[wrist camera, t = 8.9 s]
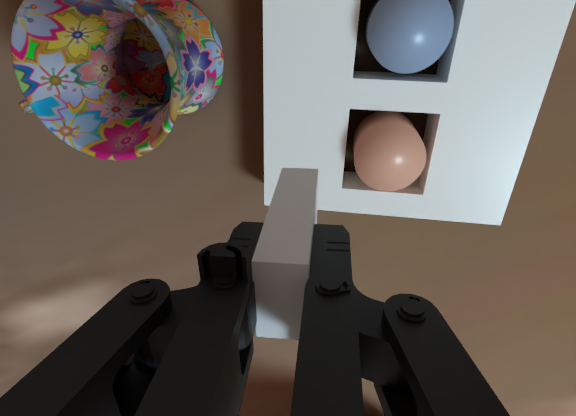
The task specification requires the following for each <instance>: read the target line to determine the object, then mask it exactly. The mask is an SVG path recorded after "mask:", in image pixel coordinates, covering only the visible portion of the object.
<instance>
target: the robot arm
mask: <svg viewBox="0 0 576 416" xmlns="http://www.w3.org/2000/svg"><path fill="white" fill-rule="evenodd" d="M317 198H318V169H309V168H282V170H281V173H280V176H279V179H278V182H277V185H276V188H275V191H274V194H273V197H272V200H271V203H270V206H269V209H268V212H267V215H266V219H265V222H264V223H259V222H242V223H241V224H239V225H238V226H237V227H236V228H234V229H233V232H232V234H231V236H230V239H229V240H228V242H227V243H217V244H213V245H209V246H207V247H206V248H204V249H202V250H201V251H200V252H199V253H198V254H197V259H198V265H199V272H200V279H201V280H200V282H199V284H198V285H197V286H195V287H191V288H187V289H181V290H175V291H170V288H169V286H168V285H167V283H166V282H164V281H162V280H159V279H145V280H140V281H137V282H134V283H132V284H130V285H128V286H127V287H125V288H124V289H123V290H121V291H120V292H119V293H118V294H117V295H116V296H115V297H114V298H112V299H111V300H110V301H109V302H108V303H107V304H106V305H105V306H103V307H102V308H101V309H100V310H99V311H98V312H97V313H96V314H94V315H93V316H92V317H91V318H90V319H89V320H88V321H87V322H85V323H84V324H83V325H82V326H81V327H80V328H79V329H77V330H76V331H75V332H74V333H73V334H72V335H71V336H70V337H68V338H67V339H66V340H65V341H64V342H63V343H62V344H61V345H59V346H58V347H57V348H56V349H55V350H54V351H53V352H52V353H50V354H49V355H48V356H47V357H46V358H45V359H44V360H43V361H41V362H40V363H39V364H38V365H37V366H36V367H35V368H34V369H32V370H31V371H30V372H29V373H28V374H27V375H26V376H24V377H23V378H22V379H21V380H20V381H19V382H18V383H17V384H15V385H14V386H13V387H12V388H11V389H10V390H9V391H8V392H6V393H5V394H4V395H3V396H2V397H1V398H0V416H239V411H240V407H241V403H242V398H243V394H244V390H245V386H246V381H247V377H248V373H249V368H250V364H251V360H252V355H253V335H254V331H255V327H256V335H257V337H269V338H282V339H294V340H299V344H298V353H297V362H296V371H295V380H294V389H293V398H292V407H291V416H364V410H363V395H362V380H361V377H362V378H364V379H367V380H369V381H372V382H374V387H375V390H376V392H377V395H378V398H379V401H380V403H381V406H382V409H383V411H384V414H385V416H510V415H509V414H508V412H507V411H506V409H505V408H504V406H503V405H502V403H501V402H500V400H499V399H498V397H497V396H496V394H495V393H494V392H493V390H492V389H491V387H490V386H489V384H488V383H487V381H486V380H485V378H484V377H483V375H482V374H481V372H480V371H479V369H478V368H477V366H476V365H475V364H474V362H473V361H472V359H471V358H470V356H469V355H468V353H467V352H466V350H465V349H464V347H463V346H462V344H461V343H460V341H459V340H458V339H457V337H456V336H455V334H454V333H453V331H452V330H451V328H450V327H449V325H448V324H447V322H446V321H445V319H444V318H443V316H442V315H441V313H440V312H439V311H438V309H437V308H436V307H435V306H434V305H433V304H432V303H431V302H430V301H428V300H426V299H424V298H422V297H420V296H416V295H413V294H397V295H394V296H391V297H390V298H389V299H387V300H386V302H385V303H384V302H380V301H377V300H374V299H371V298H369V297H367V296H365V295H363V294H362V293H360V292H359V291H358V290H357V289H356V287H355V286H354V284H353V281H352V268H351V253H350V237H349V233H348V231H347V230H346V229H345V228H344V226H343V225H324V224H317Z"/></svg>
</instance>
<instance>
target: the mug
mask: <svg viewBox="0 0 576 416" xmlns="http://www.w3.org/2000/svg"><path fill="white" fill-rule="evenodd" d="M11 55H12V62H13V67H14V71H15V74H16V78H17V80H18V83H19V86H20V88H21V90H22V92H23V94H24V96H25V98H26V99H25V100H23V101H21V102H20V103H19V106H20V108H21V110H22V111H23V112H24V113H26V114H27V113H31V112H35V114H36V115H37V116H38V118H39V119H40V120H41V121H42V122H43V123H44V125H45V126H46V127H47V128H48V129H49V130H50V131H51V132H52V133H54V134H55V135H56V136H57V137H58V138H60V139H61V140H62V141H64V142H65V143H66V144H68V145H70V146H71V147H73V148H75V149H77V150H78V151H81V152H83V153H85V154H87V155H90V156H93V157H97V158H101V159H107V160H128V159H133V158H137V157H140V156H143V155H145V154H147V153H149V152H150V151H152V150H153V149H155V148H156V147H157V146H158V145H160V144H161V143H162V142H163V140H164V139H165V138H166V137H167V135H168V134H169V133H170V131H171V129H172V127H173V125H174V123H175V120H176V118H177V114H187V113H191V112H194V111H197V110H199V109H201V108H202V107H204V106H205V105H206V104H207V103H209V102H210V100H211V99H212V98H213V97H214V95H215V94H216V92H217V91H218V88H219V86H220V84H221V81H222V77H223V71H224V56H223V50H222V46H221V42H220V39H219V37H218V34H217V32H216V30H215V28H214V27H213V25H212V24H211V22H210V21H209V19H208V18H207V17H206V16H205V15H204V14H203V12H202V11H200V10H199V9H198V8H197V7H196V6H195V5H193V4H192V3H190V2H189V1H187V0H136V1H135V0H24V1H23V2H22V4H21V5H20V7H19V9H18V11H17V13H16V16H15V19H14V22H13V26H12V33H11Z"/></svg>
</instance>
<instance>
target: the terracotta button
mask: <svg viewBox="0 0 576 416" xmlns="http://www.w3.org/2000/svg"><path fill="white" fill-rule="evenodd" d="M353 149H354V166H355V170H356V172H357V174H358V176H359V178H360V179H361V180H362V181H363V182H364V183H365V184H366V185H368V186H369V187H371V188H373V189H376V190H380V191H396V190H400V189H403V188H405V187H407V186H408V185H410V184H412V183H413V182H414V181H415V180H416V179H417V178H418V177H419V176H420V174H421V173H422V171H423V169H424V167H425V163H426V148H425V145H424V143H423V141H422V139H421V138H420V136H419V134H418V132H417V131H416V129H415V127H414V125H413V124H412V122H411V121H410V120H409V119H408V118H407V117H406V116H405V115H403V114H402V113H400V112H397V111H377V112H374V113H372V114H370V115H368V116H367V117H366V118H364V119H363V120H362V121H361V122H360V124H359V125H358V127H357V129H356V131H355V134H354V138H353Z"/></svg>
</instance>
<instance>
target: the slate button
mask: <svg viewBox="0 0 576 416" xmlns="http://www.w3.org/2000/svg"><path fill="white" fill-rule="evenodd" d="M453 27H454V17H453V11H452V8H451V5H450V3H449V1H448V0H377V1H376V3H375V4H374V5H373V7H372V9H371V10H370V12H369V15H368V17H367V21H366V27H365V34H366V41H367V44H368V46H369V48H370V50H371V52H372V54H373V55H374V57H375V58H376V60H377V61H378V62H379V63H380V64H381V65H382V66H383V67H385V68H386V69H388V70H390V71H392V72H396V73H402V74H409V73H415V72H418V71H421V70H423V69H425V68H427V67H429V66H430V65H432V64H433V63H434V62H435V61H437V60H438V59H439V58H440V56H441V55H442V54H443V53H444V51H445V50H446V48H447V46H448V44H449V42H450V40H451V37H452V33H453Z"/></svg>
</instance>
